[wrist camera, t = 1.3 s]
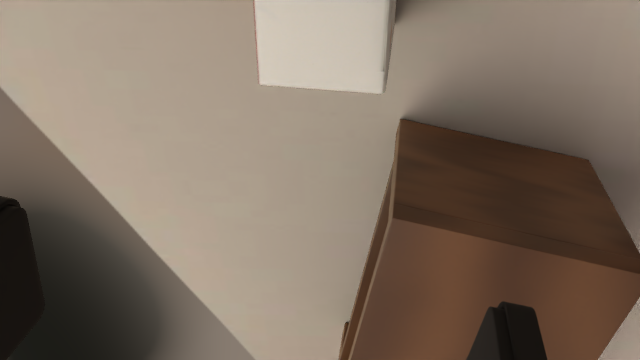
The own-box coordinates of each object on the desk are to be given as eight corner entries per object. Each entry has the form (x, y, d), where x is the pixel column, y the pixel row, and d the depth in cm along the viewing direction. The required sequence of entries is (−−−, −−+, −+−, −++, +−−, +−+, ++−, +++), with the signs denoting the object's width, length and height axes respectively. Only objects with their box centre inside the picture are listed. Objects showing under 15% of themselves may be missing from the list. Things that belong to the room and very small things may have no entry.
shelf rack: (342, 331, 45) (322, 456, 35) (400, 118, 34) (392, 217, 25) (485, 365, 44) (502, 502, 35) (589, 159, 33) (653, 277, 24)
